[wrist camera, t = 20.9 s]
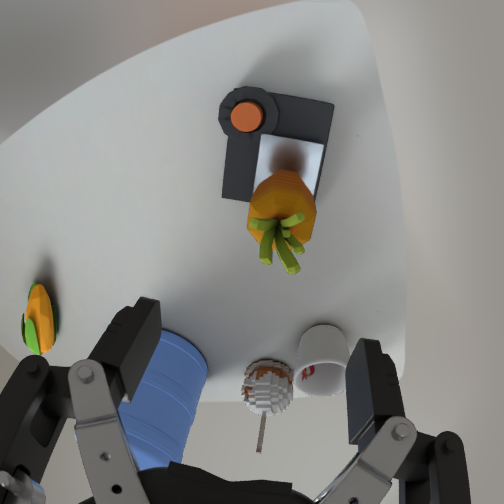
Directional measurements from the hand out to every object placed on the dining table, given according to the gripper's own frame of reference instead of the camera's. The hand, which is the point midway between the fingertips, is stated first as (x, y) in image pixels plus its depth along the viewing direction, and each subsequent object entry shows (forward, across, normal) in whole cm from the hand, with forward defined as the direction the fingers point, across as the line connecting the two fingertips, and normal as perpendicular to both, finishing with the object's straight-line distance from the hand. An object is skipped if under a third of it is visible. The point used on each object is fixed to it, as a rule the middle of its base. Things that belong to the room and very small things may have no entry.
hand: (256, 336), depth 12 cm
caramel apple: (+25, -4, +33) cm, 42 cm away
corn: (+25, +40, +32) cm, 57 cm away
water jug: (+25, +14, +35) cm, 45 cm away
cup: (+25, -11, +24) cm, 36 cm away
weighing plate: (+22, 0, 0) cm, 22 cm away
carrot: (+22, 0, 0) cm, 22 cm away
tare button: (+22, +4, -5) cm, 23 cm away
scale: (+25, +1, -2) cm, 25 cm away
